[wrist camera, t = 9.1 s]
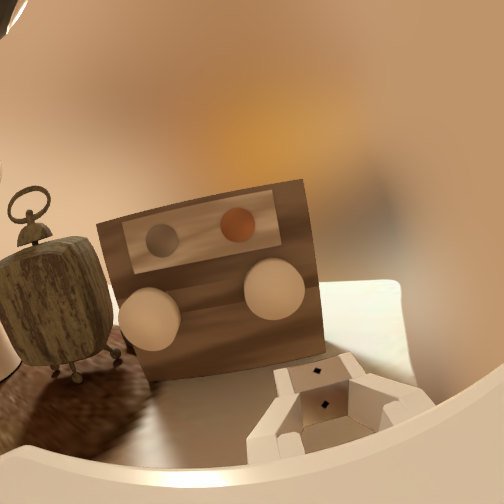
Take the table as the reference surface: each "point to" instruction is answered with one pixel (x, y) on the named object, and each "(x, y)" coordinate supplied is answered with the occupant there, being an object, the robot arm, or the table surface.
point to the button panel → (218, 277)
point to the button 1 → (150, 319)
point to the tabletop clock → (54, 297)
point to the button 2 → (273, 289)
